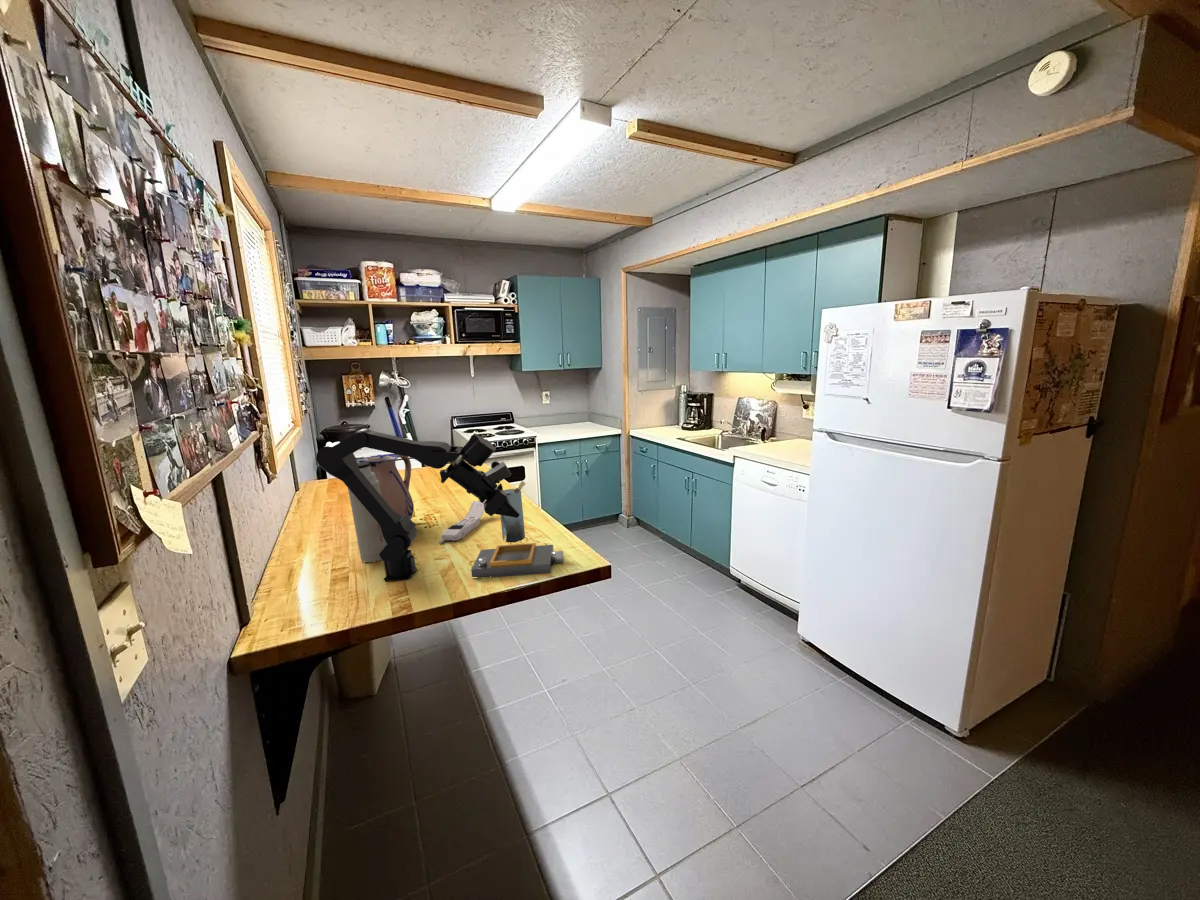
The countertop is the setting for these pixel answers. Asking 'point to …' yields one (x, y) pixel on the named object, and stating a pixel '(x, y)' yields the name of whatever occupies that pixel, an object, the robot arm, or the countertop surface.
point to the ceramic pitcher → (392, 482)
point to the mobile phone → (464, 523)
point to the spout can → (512, 525)
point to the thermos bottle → (367, 522)
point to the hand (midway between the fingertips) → (516, 512)
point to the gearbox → (516, 560)
